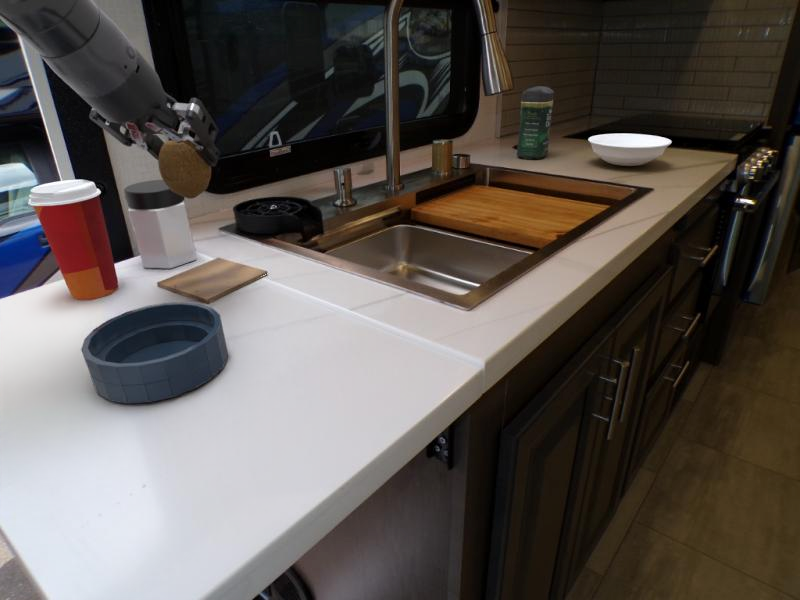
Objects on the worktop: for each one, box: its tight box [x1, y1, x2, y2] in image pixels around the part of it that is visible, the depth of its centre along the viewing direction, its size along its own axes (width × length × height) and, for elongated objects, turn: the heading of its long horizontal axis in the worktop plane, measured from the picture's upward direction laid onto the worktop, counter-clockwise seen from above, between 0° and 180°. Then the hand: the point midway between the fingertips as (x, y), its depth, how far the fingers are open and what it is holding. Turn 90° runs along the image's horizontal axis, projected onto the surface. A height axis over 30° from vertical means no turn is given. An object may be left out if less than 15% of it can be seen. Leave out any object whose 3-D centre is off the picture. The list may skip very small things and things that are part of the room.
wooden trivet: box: [156, 257, 269, 304], centre depth 76 cm, size 11×11×1 cm
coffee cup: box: [27, 179, 119, 301], centre depth 71 cm, size 8×8×15 cm
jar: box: [123, 179, 197, 270], centre depth 82 cm, size 9×8×12 cm
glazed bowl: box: [80, 301, 229, 404], centre depth 55 cm, size 13×13×4 cm
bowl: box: [587, 133, 673, 167], centre depth 135 cm, size 20×20×6 cm
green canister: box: [516, 85, 555, 160], centre depth 145 cm, size 10×8×19 cm
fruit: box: [157, 139, 212, 199], centre depth 67 cm, size 6×6×8 cm
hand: (191, 159), depth 68 cm, fingers closed on fruit, 6 cm apart
